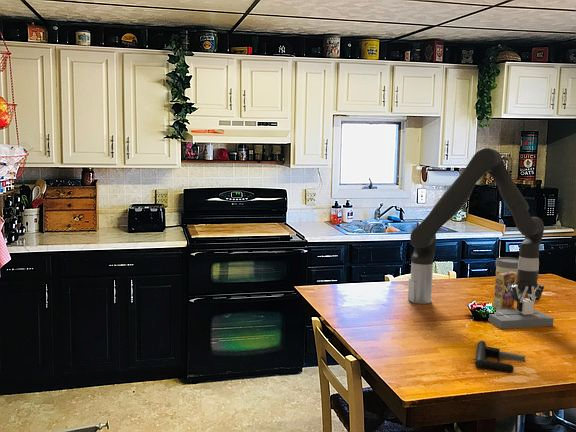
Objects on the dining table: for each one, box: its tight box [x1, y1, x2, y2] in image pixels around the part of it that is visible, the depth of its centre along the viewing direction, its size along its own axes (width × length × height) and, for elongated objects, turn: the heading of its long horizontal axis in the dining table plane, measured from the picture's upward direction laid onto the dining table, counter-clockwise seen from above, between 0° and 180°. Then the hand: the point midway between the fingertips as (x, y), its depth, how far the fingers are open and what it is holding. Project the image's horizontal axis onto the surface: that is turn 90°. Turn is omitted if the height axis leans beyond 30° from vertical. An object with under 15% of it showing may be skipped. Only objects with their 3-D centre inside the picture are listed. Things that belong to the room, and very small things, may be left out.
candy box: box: [492, 271, 517, 310], centre depth 254 cm, size 9×4×15 cm, turn 123°
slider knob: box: [517, 297, 535, 315], centre depth 236 cm, size 4×5×5 cm
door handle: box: [472, 340, 526, 374], centre depth 195 cm, size 3×20×16 cm
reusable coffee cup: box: [494, 256, 519, 293], centre depth 281 cm, size 12×13×15 cm
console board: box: [487, 308, 555, 330], centre depth 236 cm, size 22×14×3 cm, turn 101°
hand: (525, 310), depth 236 cm, fingers closed on slider knob, 4 cm apart
